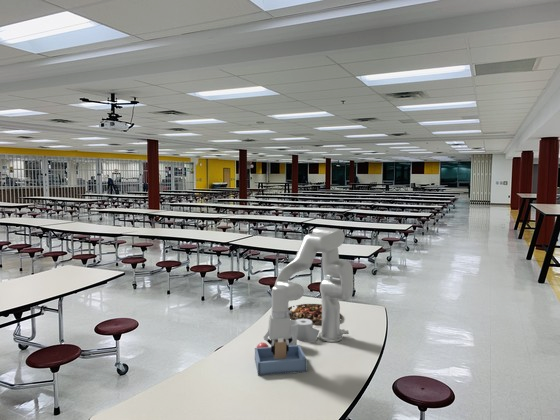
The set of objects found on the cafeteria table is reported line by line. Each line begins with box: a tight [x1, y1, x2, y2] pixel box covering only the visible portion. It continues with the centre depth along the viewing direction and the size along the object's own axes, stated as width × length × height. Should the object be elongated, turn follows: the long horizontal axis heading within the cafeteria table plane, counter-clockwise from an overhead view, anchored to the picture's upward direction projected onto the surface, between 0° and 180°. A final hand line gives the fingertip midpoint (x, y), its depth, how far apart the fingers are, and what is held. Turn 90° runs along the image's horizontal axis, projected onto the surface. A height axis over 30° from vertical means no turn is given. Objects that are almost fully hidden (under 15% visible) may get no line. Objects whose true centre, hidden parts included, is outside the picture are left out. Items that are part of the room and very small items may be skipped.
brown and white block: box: [274, 338, 286, 359], centre depth 174 cm, size 5×5×9 cm
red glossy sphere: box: [256, 342, 269, 348], centre depth 185 cm, size 6×6×6 cm
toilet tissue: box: [296, 319, 320, 342], centre depth 206 cm, size 9×13×9 cm
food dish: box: [288, 303, 343, 326], centre depth 239 cm, size 35×33×8 cm
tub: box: [254, 344, 308, 377], centre depth 175 cm, size 21×15×6 cm
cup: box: [289, 320, 298, 346], centre depth 196 cm, size 8×8×12 cm
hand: (279, 352), depth 175 cm, fingers closed on brown and white block, 5 cm apart
